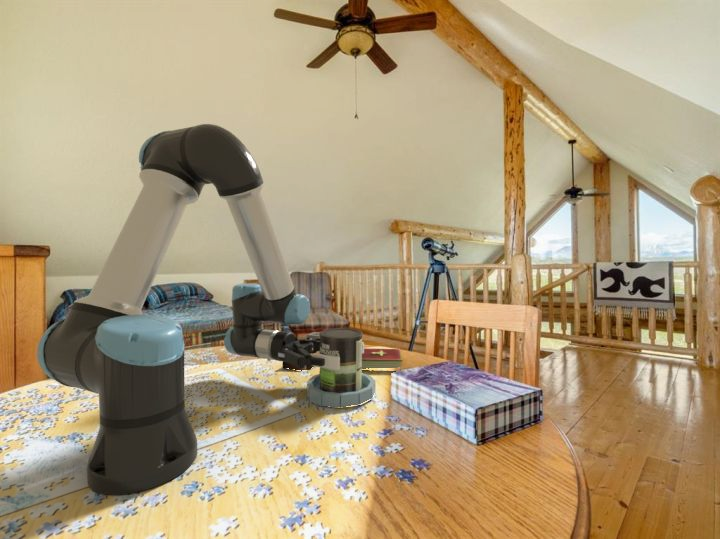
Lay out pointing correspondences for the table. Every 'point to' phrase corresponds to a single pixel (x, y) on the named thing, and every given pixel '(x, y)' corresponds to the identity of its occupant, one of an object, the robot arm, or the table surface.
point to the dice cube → (314, 335)
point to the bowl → (340, 398)
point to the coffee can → (342, 360)
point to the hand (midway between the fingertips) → (352, 355)
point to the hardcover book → (381, 358)
